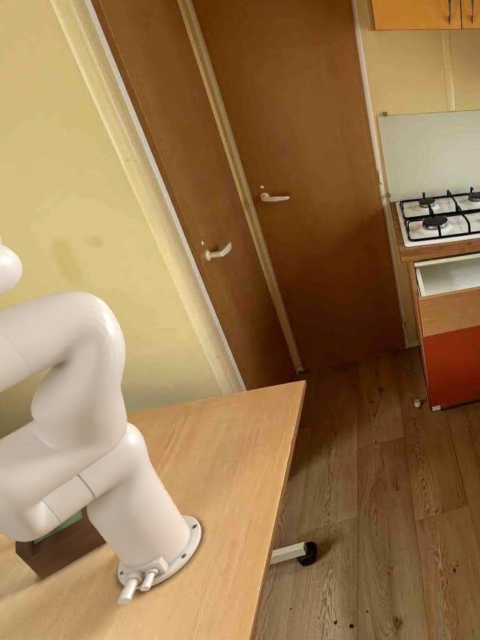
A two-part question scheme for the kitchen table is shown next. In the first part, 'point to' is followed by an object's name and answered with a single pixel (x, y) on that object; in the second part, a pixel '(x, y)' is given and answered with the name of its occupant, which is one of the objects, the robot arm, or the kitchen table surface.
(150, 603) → the kitchen table surface
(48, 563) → the brown piece
